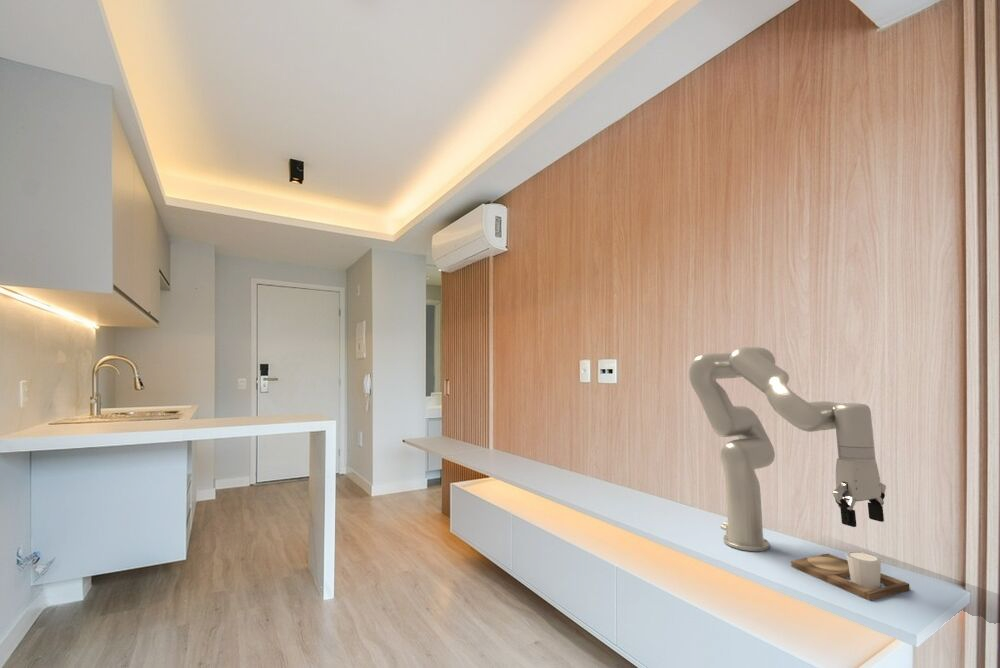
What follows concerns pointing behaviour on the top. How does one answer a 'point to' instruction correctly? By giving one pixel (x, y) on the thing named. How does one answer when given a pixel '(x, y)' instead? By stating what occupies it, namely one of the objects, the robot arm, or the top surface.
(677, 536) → the top surface
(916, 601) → the top surface
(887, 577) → the pocket board
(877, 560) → the cream short cylinder
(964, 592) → the top surface
